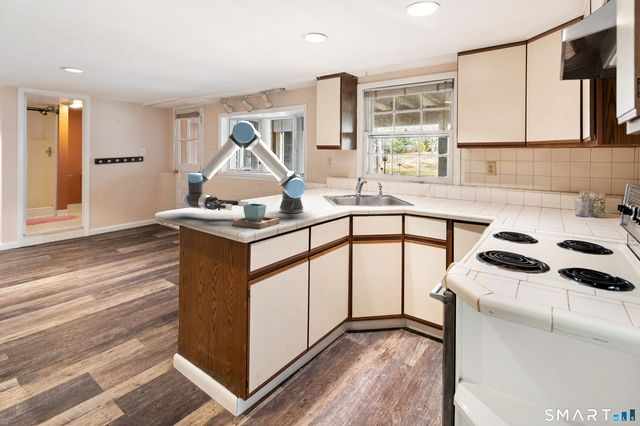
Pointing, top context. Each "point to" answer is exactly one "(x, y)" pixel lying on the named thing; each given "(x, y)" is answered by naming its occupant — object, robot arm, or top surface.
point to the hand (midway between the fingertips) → (240, 205)
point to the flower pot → (254, 212)
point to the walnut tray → (264, 223)
